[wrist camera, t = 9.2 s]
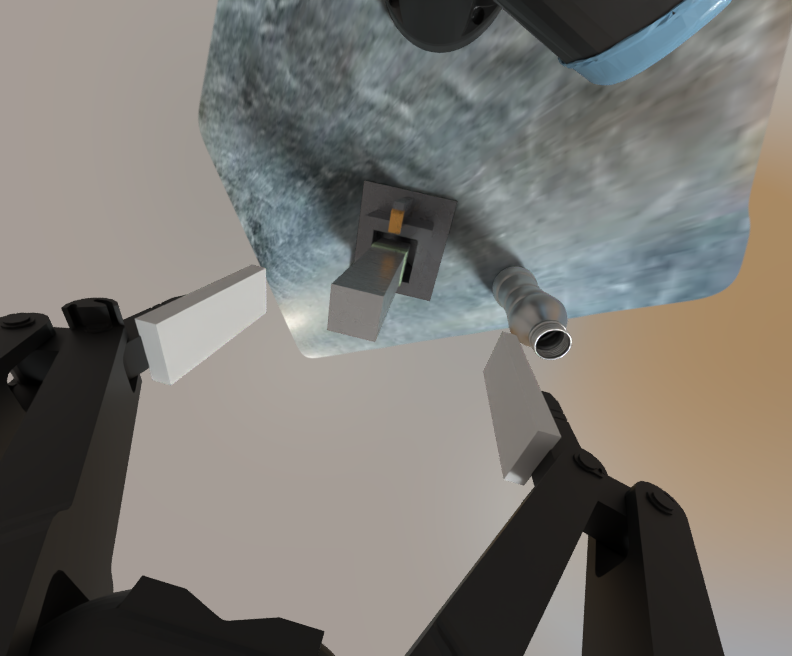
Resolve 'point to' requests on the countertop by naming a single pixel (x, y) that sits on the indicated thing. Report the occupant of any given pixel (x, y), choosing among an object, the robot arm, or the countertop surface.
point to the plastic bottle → (532, 313)
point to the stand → (407, 231)
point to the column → (367, 290)
